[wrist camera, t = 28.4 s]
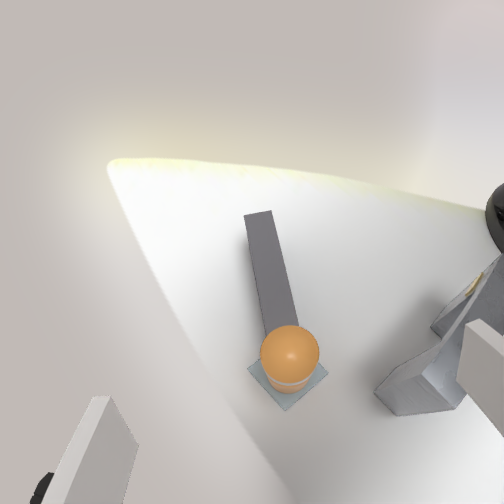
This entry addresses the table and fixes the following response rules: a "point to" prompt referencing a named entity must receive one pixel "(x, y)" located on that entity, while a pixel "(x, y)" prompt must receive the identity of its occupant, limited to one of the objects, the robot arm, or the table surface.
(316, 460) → the table surface
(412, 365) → the arch
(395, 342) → the table surface
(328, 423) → the table surface
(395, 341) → the table surface
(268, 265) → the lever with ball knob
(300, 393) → the mat
